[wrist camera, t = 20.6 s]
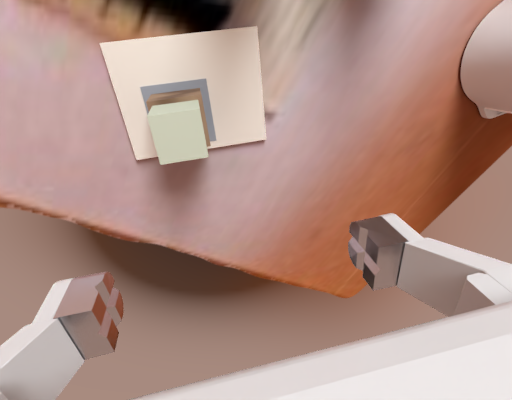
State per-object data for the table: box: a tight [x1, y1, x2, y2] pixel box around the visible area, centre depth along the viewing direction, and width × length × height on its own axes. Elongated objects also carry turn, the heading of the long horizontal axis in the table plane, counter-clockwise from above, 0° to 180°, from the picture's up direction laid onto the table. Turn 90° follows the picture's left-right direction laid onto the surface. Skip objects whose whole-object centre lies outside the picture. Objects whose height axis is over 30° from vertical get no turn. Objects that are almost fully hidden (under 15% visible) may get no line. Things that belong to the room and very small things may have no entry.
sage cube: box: [147, 100, 209, 165], centre depth 32 cm, size 5×5×5 cm
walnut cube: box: [146, 88, 211, 147], centre depth 36 cm, size 6×6×5 cm
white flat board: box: [100, 26, 266, 160], centre depth 38 cm, size 18×14×1 cm
